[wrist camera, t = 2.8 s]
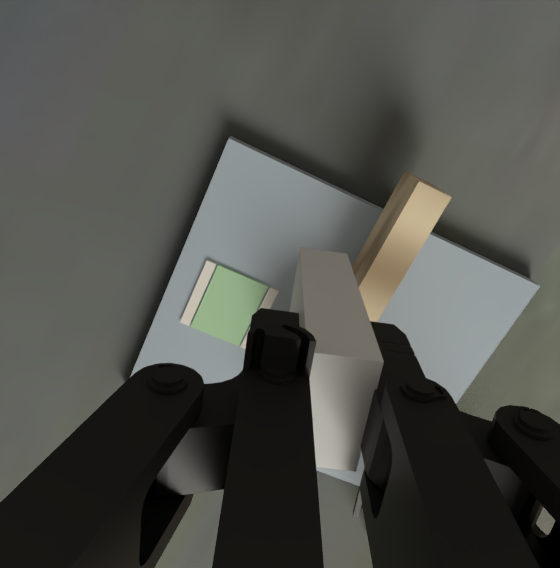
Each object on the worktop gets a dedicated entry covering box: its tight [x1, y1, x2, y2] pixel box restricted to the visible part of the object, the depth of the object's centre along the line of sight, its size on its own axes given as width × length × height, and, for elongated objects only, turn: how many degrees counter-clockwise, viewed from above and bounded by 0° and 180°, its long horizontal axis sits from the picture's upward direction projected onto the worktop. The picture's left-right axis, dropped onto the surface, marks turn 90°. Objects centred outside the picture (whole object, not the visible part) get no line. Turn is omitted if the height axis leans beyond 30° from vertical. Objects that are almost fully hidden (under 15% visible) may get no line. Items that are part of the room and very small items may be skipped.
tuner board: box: [130, 136, 540, 486], centre depth 32 cm, size 20×18×1 cm
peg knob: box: [352, 171, 452, 322], centre depth 28 cm, size 19×6×5 cm, turn 155°
